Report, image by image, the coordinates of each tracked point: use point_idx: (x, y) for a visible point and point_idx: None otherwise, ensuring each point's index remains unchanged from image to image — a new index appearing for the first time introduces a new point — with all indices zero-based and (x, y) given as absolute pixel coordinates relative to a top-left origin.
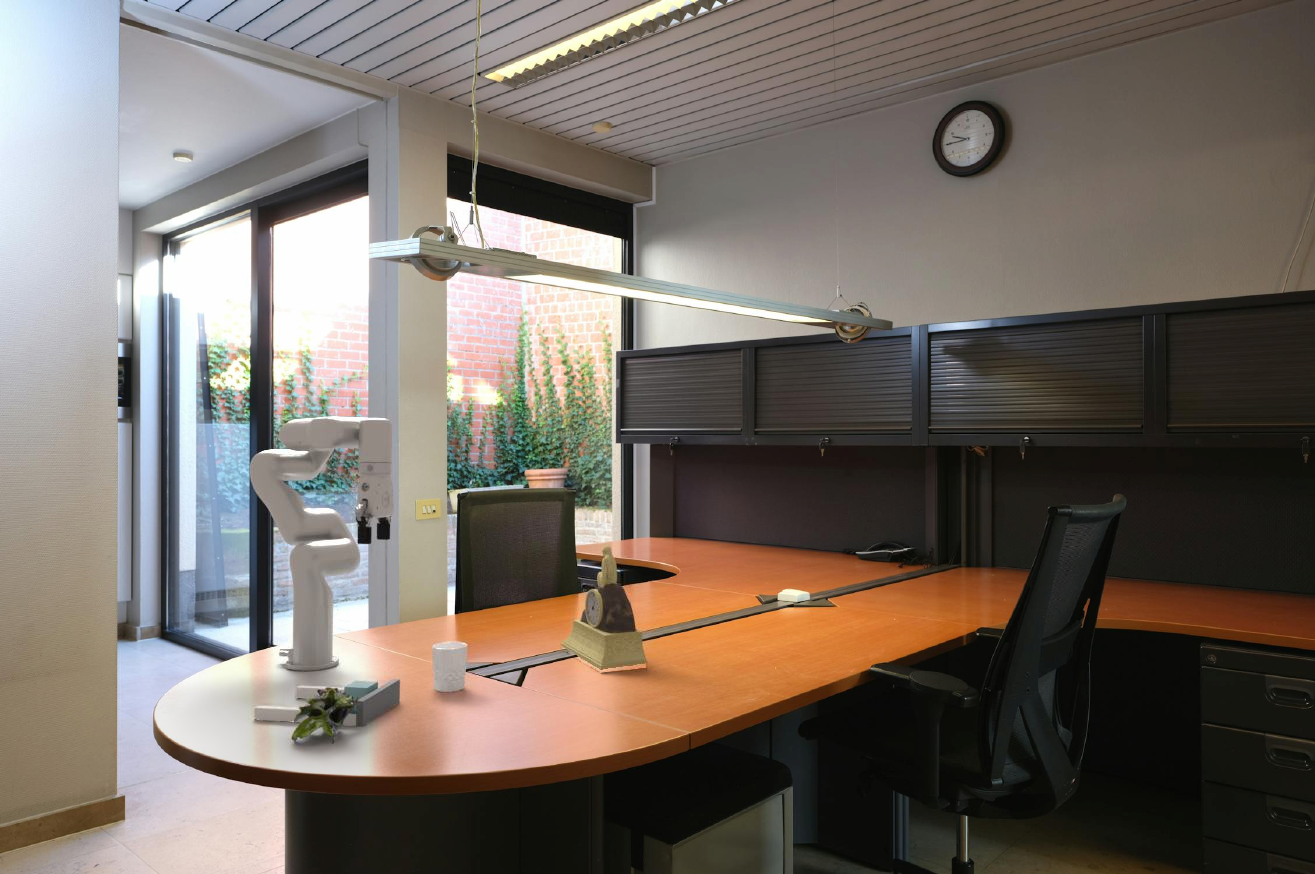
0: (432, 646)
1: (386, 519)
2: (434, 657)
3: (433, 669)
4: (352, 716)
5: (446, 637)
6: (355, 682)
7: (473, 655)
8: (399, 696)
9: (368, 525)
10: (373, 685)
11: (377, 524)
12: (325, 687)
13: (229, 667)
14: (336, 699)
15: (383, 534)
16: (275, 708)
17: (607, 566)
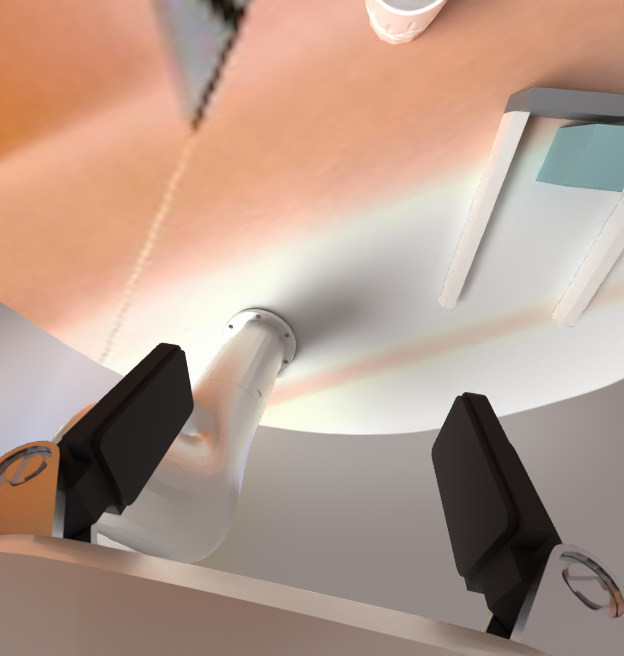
0: (430, 9)
1: (61, 504)
2: (445, 2)
3: (424, 26)
4: None
5: (10, 183)
6: (584, 180)
7: (106, 52)
8: (516, 93)
9: (587, 570)
10: (619, 126)
11: (131, 501)
12: (462, 264)
13: (287, 421)
14: None
15: (170, 399)
16: (589, 296)
17: None
